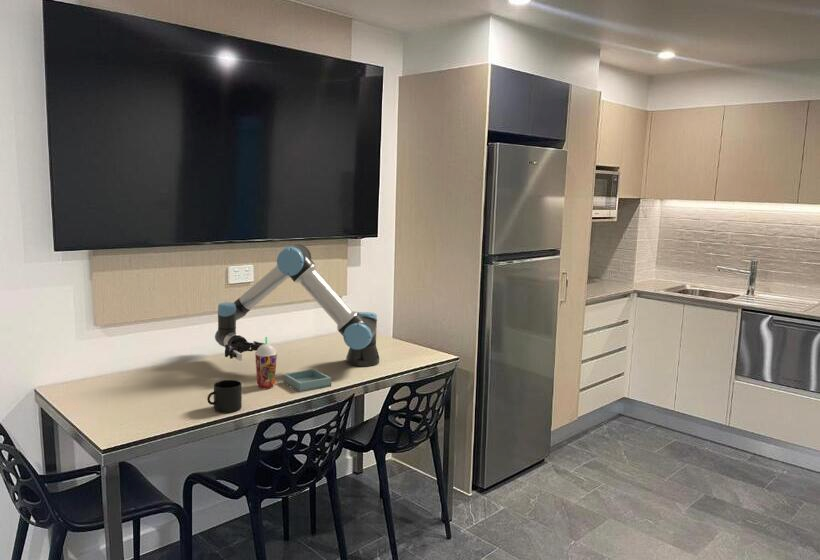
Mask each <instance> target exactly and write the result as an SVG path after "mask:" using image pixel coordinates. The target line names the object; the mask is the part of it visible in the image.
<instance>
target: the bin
mask: <svg viewBox="0 0 820 560" xmlns="http://www.w3.org/2000/svg"><path fill="white" fill-rule="evenodd" d="M282 378H283V379H282V382H284V383H283V384H285V383H286V384H285V385H287V384H288V385H289V387H290V386H291V387H290V388H292V389H294V390H295V389H296V390H295V391H297V392H299V393H303V392H310V391H314V390H319V389H324V388H329V387H332V377H330V376H329V375H326V374H325V373H322V372H321V371H320V370H317V369H315V368H312V369H305V370H299V371H294V372H288V373H283V375H282ZM288 385H287V386H288ZM318 388H319V389H318Z"/></svg>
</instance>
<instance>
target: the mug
mask: <svg viewBox="0 0 820 560" xmlns="http://www.w3.org/2000/svg"><path fill="white" fill-rule="evenodd" d="M242 385H243V384H242V382H241V381H239V380H234V379H224V380H220V381H216V382H215V383H213V391H212V392H210V393H209V394H208V396H207V399H206V400H207V403H208V404H209V405H212V406H213V409H214V411H216V412H217V413H222V414H229V413H235V412H237V411H240V410H242V407H243V406H242V404H243V402H242V399H243V397H242V394H243V393H242V388H243V386H242ZM212 396H213V401H211V397H212Z"/></svg>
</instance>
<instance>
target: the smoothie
mask: <svg viewBox="0 0 820 560" xmlns="http://www.w3.org/2000/svg"><path fill="white" fill-rule="evenodd" d="M264 341H265V344H262V345H261V346H259V347H258V349H257V351H255V353H254V354H255V367H256V368H255V371H256V383H257V385H258V388H260V389H263V388H268V389H272V388H274V385H275V382H276V374H277V373H276V371H277V370H276V369H277V357H278V356H277V355H278V352H277V349H276V348H275V346H273V345H272V344H271V343H268V336H265V338H264ZM270 344H271V345H270ZM271 387H272V388H271Z"/></svg>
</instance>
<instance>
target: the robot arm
mask: <svg viewBox="0 0 820 560" xmlns="http://www.w3.org/2000/svg"><path fill="white" fill-rule="evenodd" d="M289 278H290V279H291V280H292V281H293V282H294V283H298V284H300V285H302V287H303V288H304V290H306V291H307V292H308V294H310V296H311V297H312V299H314V301H316V302H317V303H318V305H319V306H320V307H321V308H322V309H323V310H324V311H325V312H326V313H327V315H328V316H329V317H330V319H332V320H333V322H334V323H335V324H336V325H337V327H336V328H337V331H338V333H340V335H341V336H342V337H343V342H344V344H345V345H346V346H348V351H347V355H346V357H345V358H346V359H345V362H346V363H347V364H348V365H350V366H355V367H370V366H371V367H372V366H375V365H378V364H379V363H380V356H379V352H378V348H377V327H378V326H377V325H378V323H377V322H378V315H377V313H374V312H368V311H365V312H364V311H353V310H352V309H350V307H349V306H348V305H347V304H346V302H344V300H343V299H342V298H341V297H340V296H339V295H338V293H336V291H335V290H334V289H333V288H332V286H331V285H330V284H329V283H328V282H327V281H326V280H325V279H324V278H323V276H321V275H320V273H319V272H318V271H317V270H316V263H315V262H314V261H313V260H312V254H311V251H310V250H309V248H308V247H306V245H303V244H298V243H297V244H293V245H290V246H286V247H284V248H283V249H282V250H281V251H280V252H279V253H278V255H277V258H276V266H275V267H273V268H272V269H271V270H270V271H269V272H268V273H267V274H265V275H264V276H263V277H261V279H259V280H258V281H257V282H256V283H255V284H254V285H252V286H251V287H250V288H249V289H248V290H246V291H245V292H244V293H243V294H242V295H240V297H239V298H237V299H236V300H235V301H233V302H229V301H228V302H221V303H219V304H218V305H217V306H218V307H217V325H218V326H217V331H216V332H215V334H214V339H215V342H217V343H218V344H219V346H221V347H224V358H228V357H229V359H230V360H231V359H236V360H238V361H240V362H242V360H243V359H242V358H243V357H242V356H243V355H242V354H243V353H244V352H253V351H255V352H256V351H257V349H258V347H259V346H261V345H262V344H265V343H264V342H259V341H255V340H254V341H253V342H248V340H247V339H246V337H243V336H242V335H240V334H238V333H237V321H238V320H240V319H241V318H243V317H245V316H246V315H247V313H249V312H250V311H251V310H252V309H254V308H255V307H256V306H257V305H258V304H260V303H261V302H262V301H263V300H264V299H265V298H266V297H267V296H269V295H270V294H271V293H273V291H274V290H276V289H277V288H278V287H280V285H282V284H283V283H284V282H286V280H288V279H289ZM269 344H270V345H272V344H271V343H269Z"/></svg>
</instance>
